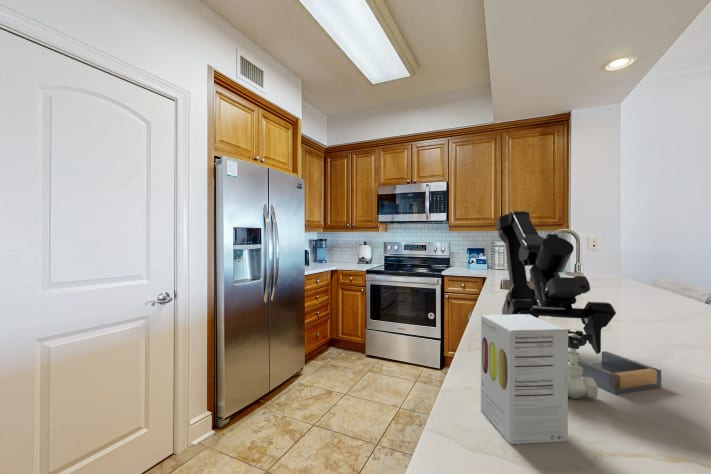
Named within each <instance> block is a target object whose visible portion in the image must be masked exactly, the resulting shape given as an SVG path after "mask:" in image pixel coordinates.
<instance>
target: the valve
mask: <svg viewBox="0 0 711 474" xmlns="http://www.w3.org/2000/svg"><path fill="white" fill-rule="evenodd" d="M587 343H588V344H589V345H591V344H594V338H593V335H591V334H586V333H584V331H582V330H576V331H572V330H570V329H568V349H569V350H568V360H570V362H568V398H569V397H570V398H572V399H582V398H590V399H595V398H598V395H599V387H598V386H597V385H596V382H595V381H594V379H593V378H592V377H581V375H583V368H582V367H580V366H579V364H578V363H577V362H578V361H579V359H580V354H579V353H578V352H577V350H579V349H580V347H584V346H585V345H586V344H587Z"/></svg>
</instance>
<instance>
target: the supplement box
mask: <svg viewBox="0 0 711 474" xmlns="http://www.w3.org/2000/svg"><path fill="white" fill-rule="evenodd" d="M480 318H481V319H480V324H481V325H480V327H481V328H480V331H481V332H480V335H481V336H480V342H481V343H480V411H481V412H482V413H483V415H484V416H486V418H487V419H488V420H489V422H490V423H491V424H492V425H493V426H494V428H496V429H497V431H498V433H500V434H501V435H502V436H503V438H504V439H505V440H506V441H507V442H508V443H509V444H510V445H521V444H522V445H524V444H525V445H526V444H542V443H545V444H546V443H563V442H568V439H569V438H568V435H569V433H568V431H569V428H568V427H569V426H568V425H569V424H568V422H569V420H568V419H569V418H568V417H569V415H568V412H569V404H568V403H569V399H568V398H569V396H568V352H569V347H568V330H569V328H565V327H563V326H559V325H556V324H555V323H551V322H549V321H546V320H544V319H541V318H540V317H539V318H536V317H534V316H532V315H530V314H513V315H502V314H483V315H482V314H481V316H480Z"/></svg>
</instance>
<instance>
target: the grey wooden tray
mask: <svg viewBox="0 0 711 474" xmlns="http://www.w3.org/2000/svg"><path fill="white" fill-rule="evenodd" d="M568 362H570V360H568ZM577 363H578V364H579V366H580V367H582V368H583V375H581V377H592V378H593V379H594V381H595V382H596V385H597V388H601V389H603V390H605V391H607V392H609V393H611V394H613V395H621V394H629V393H634V392H640V391H649V390H654V389H661V388H662V370H661V369H659V368H656V367H653V366H650V365H647V364H644V363H642V362H638V361H635V360H632V359H629V358H627V357H624V356H621V355H618V354H615V353H612V352H609V351H606V350H603V351H601V362H593V363H592V362H591V363H589V362H587V361H585V360H581V359H580V358H579V361H578V362H577Z"/></svg>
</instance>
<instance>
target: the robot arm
mask: <svg viewBox="0 0 711 474" xmlns="http://www.w3.org/2000/svg"><path fill="white" fill-rule="evenodd" d="M495 228H496V231H497V233H498V237H499V239H501V241H502V242H503V243H504V245H505V252H506V261H507V270H508V276H509V277H508V279H509V286H510V287H509V290H508V292H507V293H506V295H505V300H504V303H503V306H502V308H501V315H513V314H530V315H532V316H534V317H536V318H539V319H540V317H550V318H562V319H564V318H565V319H580V321H581V322H582V324H583V325H584V327H582V328H583V330H584V331H583V332H584V334H591V335H593V338H594V344H590V346H591V347H592V350H593V351H594V353H595V354H597V355H599V354H600V353H602V343H601V342H602V329H603V328H605V327H607V326H608V325H609V323H611V321H612V320H613V318H614V317H615V316H616V314H617V312H616V310H615V308H614V306H613V305H612V304H611V303H610V302H606V301H605V302H603V301H587V302H586V305H585V306H584V307H583V308H581V307H573V306H572V305H576V302H577V298H576V297H577V296H581V295H582V294H587V293H589V292H590V291H591V285H590V281H589V280H588V279H587V277H586V276H585V275H582V276H580V275H576V276H575V277H568V276H567V277H563V276H561V275H560V272H563V271H565V268H566V267H567V265H568V262H569V260H570V258H571V256H572V254H573V252H574V249H575V248H574V245H573V243H571V242H570V241H568V240H567V239H565V238H562V237H559V235H558V234H557V233H548V234H546V237H542V236H540V234H539V232H538V230H537V229H536V227H535V226H534V223H533V222H532V220H531V218H530V213H529V211H526V210H523V211H522V210H520V211H519V210H518V211H517V210H516V211H514V210H513V211H511V212H510V211H509V212H508V213H507V214H503V215H501V216H498V218H497V219H496V222H495ZM528 266H529V267H530V269H529V274H530V276H529V281H530V282H532V284H533V288H531V287H530V285H528V277H527V271H526V267H528Z"/></svg>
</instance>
